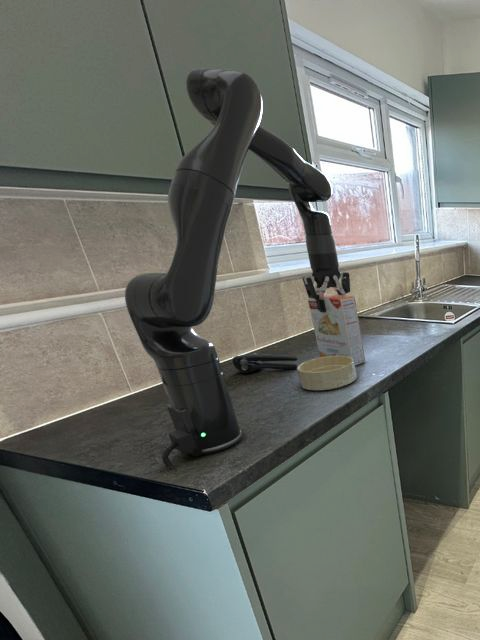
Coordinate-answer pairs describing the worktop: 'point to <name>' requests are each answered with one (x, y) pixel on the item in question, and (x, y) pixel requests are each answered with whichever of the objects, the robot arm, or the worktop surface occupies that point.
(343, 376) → the bowl
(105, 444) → the worktop surface
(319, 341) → the cracker box
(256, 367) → the can opener
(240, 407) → the worktop surface
